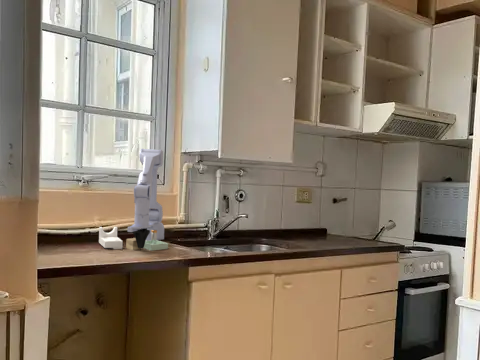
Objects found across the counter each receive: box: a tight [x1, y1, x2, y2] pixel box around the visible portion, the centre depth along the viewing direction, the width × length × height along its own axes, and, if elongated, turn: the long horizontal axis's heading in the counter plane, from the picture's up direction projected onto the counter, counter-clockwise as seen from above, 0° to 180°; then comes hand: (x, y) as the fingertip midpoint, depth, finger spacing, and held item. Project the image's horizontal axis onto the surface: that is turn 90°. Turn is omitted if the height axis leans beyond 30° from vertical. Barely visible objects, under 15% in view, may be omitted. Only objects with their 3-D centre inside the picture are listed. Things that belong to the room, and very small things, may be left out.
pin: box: [151, 230, 157, 244], centre depth 194 cm, size 2×2×7 cm
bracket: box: [98, 226, 123, 250], centre depth 193 cm, size 13×7×8 cm, turn 27°
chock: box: [125, 237, 142, 251], centre depth 190 cm, size 4×5×4 cm
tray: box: [143, 240, 169, 251], centre depth 194 cm, size 8×9×2 cm
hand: (140, 247), depth 187 cm, fingers closed
